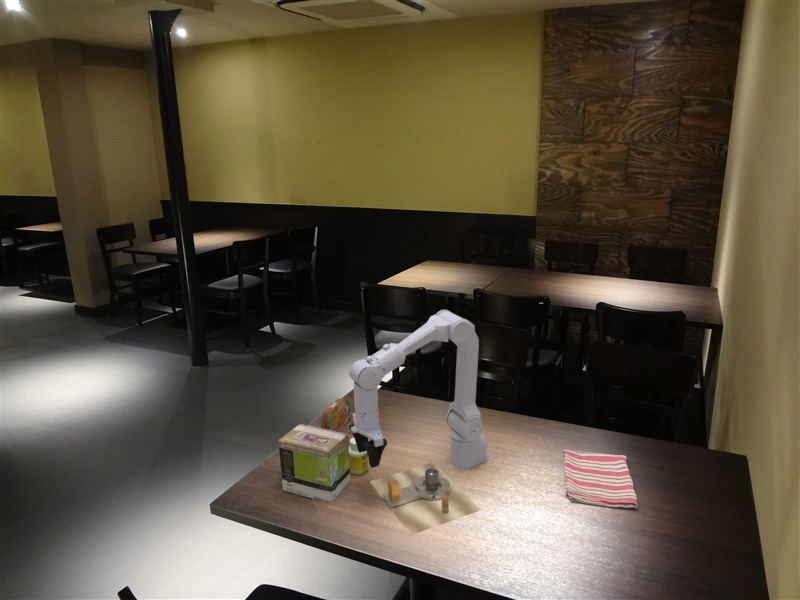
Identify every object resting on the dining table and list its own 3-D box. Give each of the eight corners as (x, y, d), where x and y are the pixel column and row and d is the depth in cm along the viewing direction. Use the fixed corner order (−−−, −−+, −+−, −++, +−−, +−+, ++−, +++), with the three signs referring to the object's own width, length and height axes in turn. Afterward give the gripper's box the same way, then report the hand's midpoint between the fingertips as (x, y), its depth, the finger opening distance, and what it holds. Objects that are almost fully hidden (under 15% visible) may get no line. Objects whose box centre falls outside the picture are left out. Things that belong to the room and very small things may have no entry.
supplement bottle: (365, 479, 147) (364, 446, 144) (345, 477, 148) (344, 444, 145) (370, 468, 152) (369, 435, 149) (351, 466, 153) (350, 434, 150)
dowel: (446, 508, 133) (446, 493, 132) (449, 512, 132) (449, 497, 131) (440, 510, 133) (440, 495, 131) (443, 514, 131) (444, 499, 130)
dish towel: (564, 503, 136) (565, 491, 135) (562, 453, 158) (563, 442, 157) (639, 514, 132) (640, 501, 131) (626, 460, 154) (627, 449, 153)
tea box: (351, 483, 145) (349, 432, 141) (331, 505, 137) (328, 452, 133) (303, 470, 152) (300, 421, 147) (281, 491, 143) (276, 439, 139)
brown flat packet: (329, 441, 166) (327, 416, 163) (320, 440, 167) (318, 414, 164) (351, 418, 179) (350, 394, 177) (342, 417, 180) (341, 393, 178)
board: (433, 465, 153) (433, 462, 152) (481, 513, 133) (481, 509, 132) (369, 484, 145) (369, 481, 144) (410, 538, 125) (410, 535, 124)
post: (434, 484, 143) (434, 467, 141) (440, 491, 140) (440, 473, 138) (423, 487, 141) (422, 470, 140) (429, 494, 138) (429, 477, 137)
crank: (438, 474, 146) (438, 457, 145) (456, 492, 138) (456, 475, 137) (379, 492, 139) (378, 475, 138) (394, 513, 131) (394, 495, 130)
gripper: (340, 400, 139) (343, 448, 143) (362, 425, 126) (364, 477, 130) (366, 394, 142) (368, 441, 146) (390, 418, 129) (392, 469, 133)
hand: (368, 458), depth 138 cm, fingers open, 7 cm apart
